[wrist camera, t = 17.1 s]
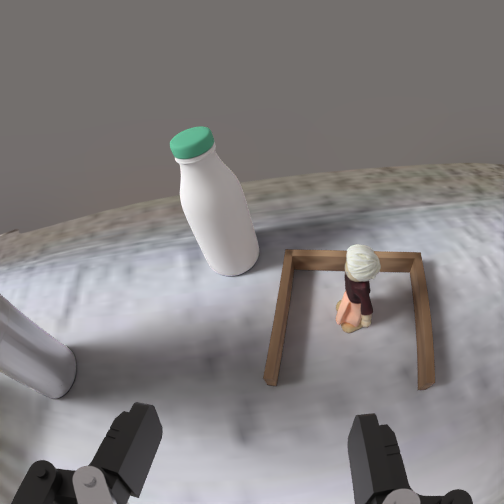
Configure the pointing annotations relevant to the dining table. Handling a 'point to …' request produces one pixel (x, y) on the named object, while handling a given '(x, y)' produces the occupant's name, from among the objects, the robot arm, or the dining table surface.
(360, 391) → the dining table surface
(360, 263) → the grandmother figurine
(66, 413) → the dining table surface
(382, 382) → the dining table surface
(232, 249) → the milk bottle
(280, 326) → the box
